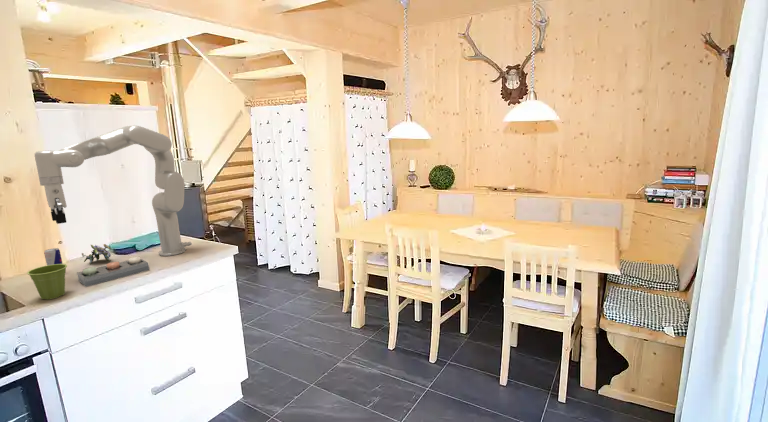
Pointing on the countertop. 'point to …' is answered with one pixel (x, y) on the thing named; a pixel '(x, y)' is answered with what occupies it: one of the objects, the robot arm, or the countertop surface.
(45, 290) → the plant pot
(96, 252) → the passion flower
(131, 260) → the ivory button
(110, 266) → the terracotta button
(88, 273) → the sage button
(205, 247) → the countertop surface
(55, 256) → the energy drink
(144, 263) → the console
